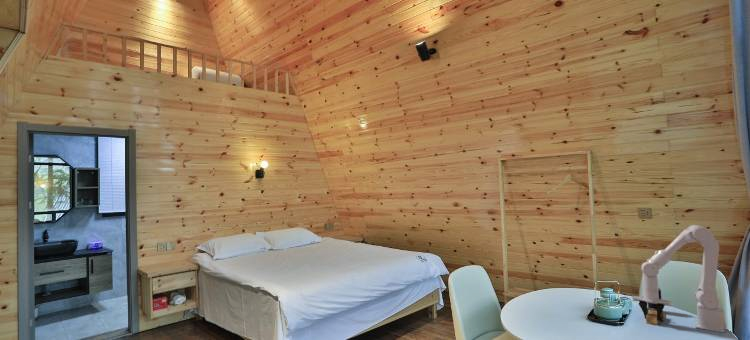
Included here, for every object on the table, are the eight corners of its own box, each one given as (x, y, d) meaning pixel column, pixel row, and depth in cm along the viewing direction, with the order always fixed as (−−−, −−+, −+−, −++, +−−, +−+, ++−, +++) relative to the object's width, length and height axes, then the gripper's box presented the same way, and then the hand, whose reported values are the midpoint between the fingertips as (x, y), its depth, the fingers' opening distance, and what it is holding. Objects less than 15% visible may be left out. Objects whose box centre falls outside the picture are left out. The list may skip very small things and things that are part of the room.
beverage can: (664, 313, 201) (662, 288, 201) (651, 313, 202) (649, 288, 202) (658, 309, 206) (657, 285, 207) (646, 309, 207) (644, 285, 208)
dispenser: (666, 318, 193) (665, 307, 194) (663, 321, 189) (662, 310, 190) (650, 315, 198) (649, 305, 198) (647, 318, 194) (646, 308, 194)
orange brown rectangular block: (661, 318, 194) (661, 310, 194) (656, 325, 185) (656, 317, 185) (651, 316, 197) (651, 309, 197) (646, 323, 188) (645, 315, 188)
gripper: (630, 288, 191) (631, 318, 191) (668, 293, 181) (669, 325, 180) (634, 285, 196) (635, 314, 196) (671, 290, 186) (673, 320, 185)
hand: (652, 319), depth 188 cm, fingers closed on orange brown rectangular block, 4 cm apart
